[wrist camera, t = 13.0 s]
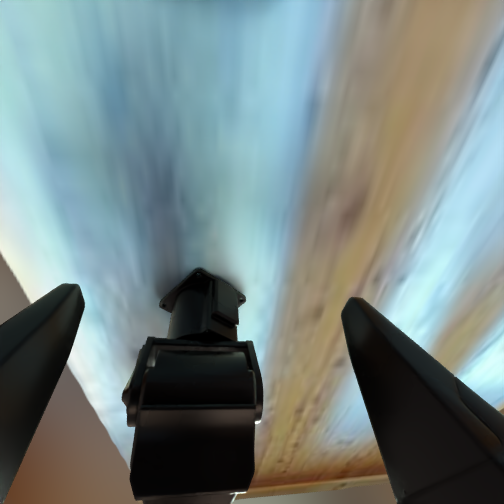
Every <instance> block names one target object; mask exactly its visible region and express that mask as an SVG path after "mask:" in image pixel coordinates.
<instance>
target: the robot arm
mask: <svg viewBox="0 0 504 504" xmlns="http://www.w3.org/2000/svg"><path fill="white" fill-rule="evenodd" d="M197 273H200V274H197ZM245 302H246V297H245V295H243V294H241V293H240V292H238V291H237V290H235V289H234V288H232V287H231V286H229V285H227V284H226V283H224V282H223V281H221V280H219V279H217V278H216V277H214V276H212V275H211V274H209V273H207V272H206V271H204V270H203V269H199V268H198V269H195V270H194V271H193V272H192V273H191V274H189V275H188V276H187V277H186V278H185V279H184V280H183V281H182V282H181V283H179V284H178V285H177V286H176V287H175V288H174V289H173V290H172V291H171V292H169V293H168V294H167V295H166V296H165V297H164V298H163V299H162V300H161V301H160V303H159V307H160V308H162V309H164V310H166V311H168V312H170V313H172V314H171V320H170V325H169V331H168V336H167V338H155V337H148V338H147V341H146V344H145V345H143V347H142V349H140V351H139V355H138V359H137V363H136V366H135V369H134V371H133V373H132V375H131V377H130V379H129V381H128V383H127V385H126V387H125V389H124V390H123V393H122V401H123V402H124V404H125V405H126V407H127V409H126V412H127V426H128V427H135V434H134V441H133V448H132V455H131V462H130V469H131V473H130V483H131V487H132V491H133V495H134V498H135V500H136V501H139V500H142V501H143V504H232V503H233V501H234V499H235V497H236V495H237V493H246V492H247V490H248V488H249V486H250V483H251V480H252V478H253V475H254V471H255V462H254V441H255V424H258V423H259V422H260V420H261V417H262V411H263V383H262V377H261V373H260V369H259V365H258V361H257V357H256V353H255V349H254V345H253V341H246V342H245V341H237V325H239V317H238V307H240V306H241V305H242V304H244V303H245ZM84 308H85V302H84V298H83V295H82V292H81V289H80V286H79V285H78V284H68V283H64V284H61V285H59V286H58V287H56V288H55V289H53V290H52V291H51V292H49V293H48V294H46V295H45V296H43V297H42V298H40V299H39V300H37V301H36V302H34V303H33V304H31V305H30V306H28V307H27V308H25V309H24V310H22V311H21V312H19V313H18V314H16V315H15V316H13V317H12V318H10V319H9V320H7V321H6V322H4V323H3V324H2V325H0V504H3V503H4V500H5V498H6V496H7V494H8V491H9V489H10V487H11V485H12V482H13V480H14V478H15V476H16V474H17V471H18V469H19V467H20V465H21V463H22V460H23V458H24V456H25V454H26V451H27V449H28V447H29V445H30V443H31V440H32V438H33V436H34V434H35V431H36V429H37V427H38V425H39V423H40V420H41V418H42V416H43V414H44V411H45V409H46V407H47V405H48V402H49V400H50V398H51V396H52V394H53V391H54V389H55V387H56V385H57V382H58V380H59V378H60V376H61V373H62V371H63V369H64V366H65V365H66V362H67V360H68V358H69V355H70V352H71V349H72V346H73V343H74V340H75V337H76V334H77V330H78V327H79V324H80V321H81V318H82V315H83V311H84ZM341 319H342V324H343V328H344V333H345V338H346V343H347V347H348V352H349V356H350V359H351V363H352V366H353V369H354V372H355V375H356V378H357V381H358V385H359V388H360V391H361V394H362V397H363V400H364V403H365V406H366V409H367V412H368V415H369V419H370V422H371V425H372V428H373V431H374V434H375V437H376V440H377V443H378V446H379V450H380V453H381V456H382V459H383V462H384V465H385V468H386V471H387V474H388V477H389V480H390V484H391V486H392V490H393V493H394V496H395V499H396V501H397V504H504V415H502V414H501V413H500V412H499V411H497V410H496V409H495V408H494V407H492V406H491V405H490V404H488V403H487V402H486V401H485V400H483V399H482V398H481V397H480V396H479V395H477V394H476V393H475V392H474V391H472V390H471V389H470V388H469V387H468V386H466V385H465V384H464V383H463V382H462V381H460V380H459V379H458V378H457V377H454V375H453V374H452V373H451V372H450V371H448V370H447V369H446V368H445V367H444V366H442V365H441V364H440V363H439V362H438V361H437V360H435V359H434V358H433V357H432V356H431V355H429V354H428V353H427V352H426V351H425V350H423V349H422V348H421V347H420V346H419V345H418V344H416V343H415V342H414V341H413V340H412V339H410V338H409V337H408V336H407V335H406V334H404V333H403V332H402V331H401V330H400V329H398V328H397V327H396V326H395V325H394V324H393V323H391V322H390V321H389V320H388V319H387V318H385V317H384V316H383V315H382V314H381V313H379V312H378V311H377V310H376V309H375V308H374V307H372V306H371V305H370V304H369V303H368V302H366V301H365V300H364V299H363V298H359V297H351V298H349V300H348V301H347V303H346V305H345V307H344V308H343V310H342V313H341Z"/></svg>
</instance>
